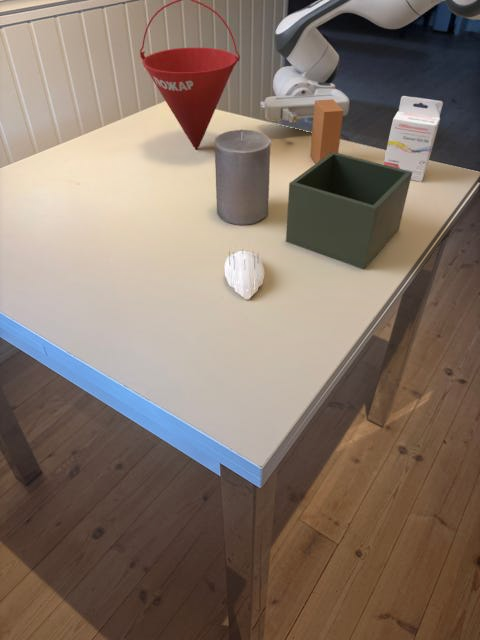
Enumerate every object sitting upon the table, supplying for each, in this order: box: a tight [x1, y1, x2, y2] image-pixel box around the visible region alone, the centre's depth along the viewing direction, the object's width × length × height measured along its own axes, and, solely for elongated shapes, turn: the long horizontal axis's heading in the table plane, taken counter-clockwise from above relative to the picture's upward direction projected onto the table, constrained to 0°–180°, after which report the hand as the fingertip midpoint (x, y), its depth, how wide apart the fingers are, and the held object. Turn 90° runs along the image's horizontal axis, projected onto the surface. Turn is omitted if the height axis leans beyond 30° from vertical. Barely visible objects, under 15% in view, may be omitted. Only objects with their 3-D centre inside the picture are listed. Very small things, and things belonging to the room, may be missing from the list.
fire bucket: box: [139, 0, 241, 150], centre depth 104 cm, size 22×20×30 cm
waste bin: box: [285, 152, 412, 270], centre depth 82 cm, size 15×15×11 cm
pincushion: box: [223, 250, 265, 300], centre depth 75 cm, size 12×6×6 cm, turn 4°
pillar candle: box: [214, 129, 272, 226], centre depth 87 cm, size 10×10×15 cm
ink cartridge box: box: [383, 95, 444, 183], centre depth 98 cm, size 9×5×15 cm, turn 65°
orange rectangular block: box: [309, 99, 344, 165], centre depth 104 cm, size 4×7×12 cm, turn 9°
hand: (314, 118), depth 111 cm, fingers open, 8 cm apart
